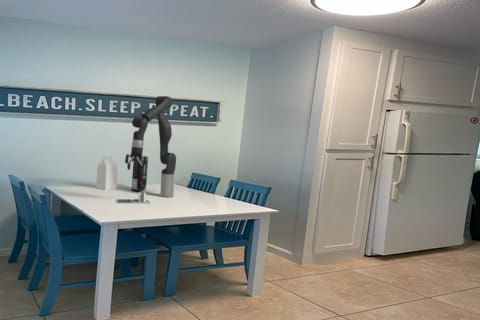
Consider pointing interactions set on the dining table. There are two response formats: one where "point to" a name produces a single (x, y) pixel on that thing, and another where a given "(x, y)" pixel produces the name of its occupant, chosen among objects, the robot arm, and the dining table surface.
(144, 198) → the plug
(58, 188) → the dining table surface
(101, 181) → the milk
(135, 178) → the graphics card box
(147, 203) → the board
